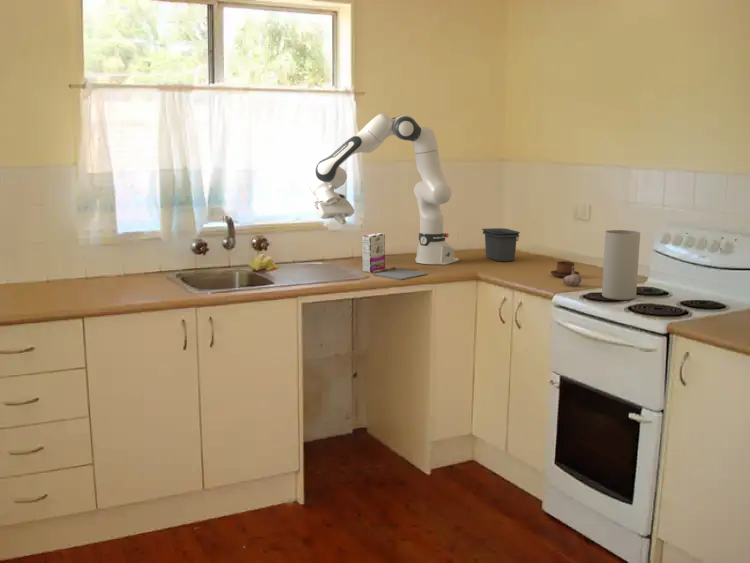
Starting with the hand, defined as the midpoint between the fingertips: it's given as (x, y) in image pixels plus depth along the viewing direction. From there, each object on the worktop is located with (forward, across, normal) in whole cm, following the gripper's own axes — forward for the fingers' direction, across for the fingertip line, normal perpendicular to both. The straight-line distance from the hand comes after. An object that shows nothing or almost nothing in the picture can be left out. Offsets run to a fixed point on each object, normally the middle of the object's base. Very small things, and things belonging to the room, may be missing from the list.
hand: (343, 223), depth 374 cm
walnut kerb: (+32, 0, -4) cm, 32 cm away
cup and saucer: (+76, +48, -49) cm, 102 cm away
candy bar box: (+27, 0, +1) cm, 27 cm away
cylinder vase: (+102, +22, -76) cm, 129 cm away
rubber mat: (+38, 0, -11) cm, 40 cm away
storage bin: (+43, +69, -16) cm, 83 cm away
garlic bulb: (+85, +31, -58) cm, 107 cm away
